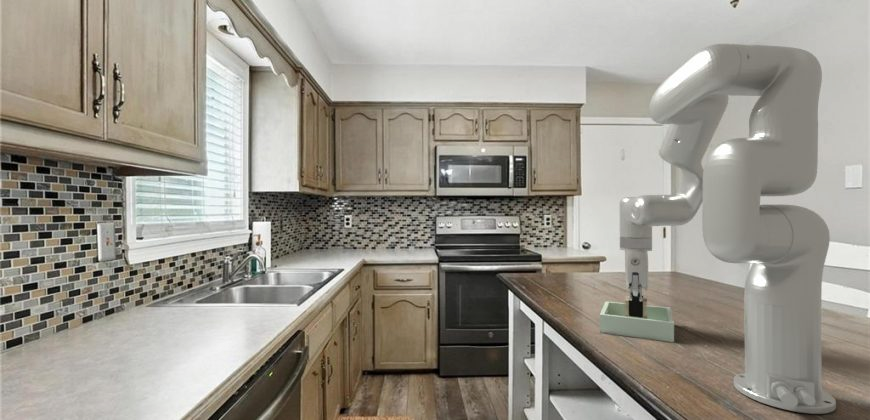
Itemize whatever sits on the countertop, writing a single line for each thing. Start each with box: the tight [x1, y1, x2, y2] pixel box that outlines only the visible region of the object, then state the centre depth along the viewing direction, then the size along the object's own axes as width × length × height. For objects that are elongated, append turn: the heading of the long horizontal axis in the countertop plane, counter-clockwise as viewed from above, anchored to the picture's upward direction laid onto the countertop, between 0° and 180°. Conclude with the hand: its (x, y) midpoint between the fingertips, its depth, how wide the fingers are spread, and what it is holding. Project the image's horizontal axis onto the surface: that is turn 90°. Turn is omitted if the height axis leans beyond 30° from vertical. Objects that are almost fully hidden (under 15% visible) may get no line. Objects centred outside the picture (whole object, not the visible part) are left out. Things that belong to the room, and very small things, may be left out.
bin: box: [599, 301, 675, 343], centre depth 101 cm, size 16×16×4 cm
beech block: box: [624, 295, 648, 319], centre depth 101 cm, size 5×5×7 cm
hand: (636, 312), depth 101 cm, fingers open, 6 cm apart
